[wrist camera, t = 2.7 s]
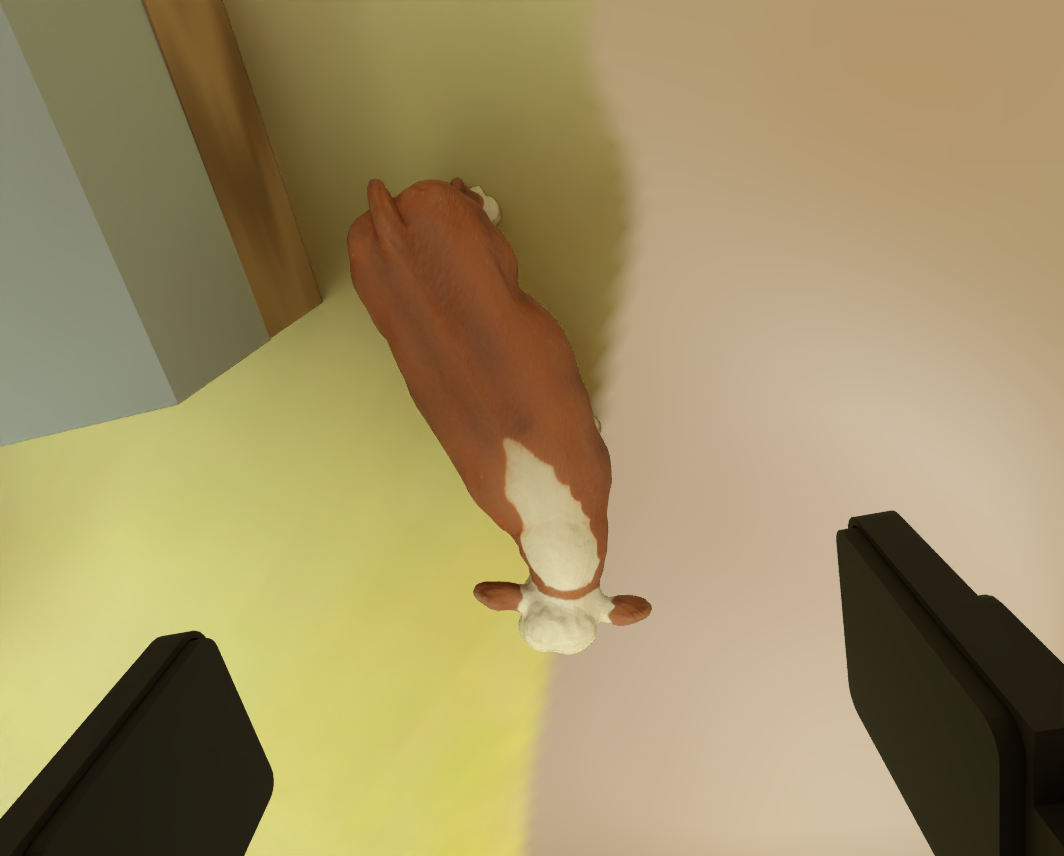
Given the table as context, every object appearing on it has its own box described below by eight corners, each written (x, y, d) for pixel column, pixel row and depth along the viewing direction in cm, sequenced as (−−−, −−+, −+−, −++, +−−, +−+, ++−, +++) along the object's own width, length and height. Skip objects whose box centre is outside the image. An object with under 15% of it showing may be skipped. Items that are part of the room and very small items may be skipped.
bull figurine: (525, 555, 26) (519, 723, 18) (367, 191, 21) (272, 212, 14) (640, 519, 25) (684, 676, 18) (503, 136, 21) (482, 126, 13)
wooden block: (-76, 63, 20) (-258, 37, 16) (219, -17, 20) (119, -70, 15) (66, 360, 24) (-51, 411, 19) (323, 301, 23) (268, 339, 18)
